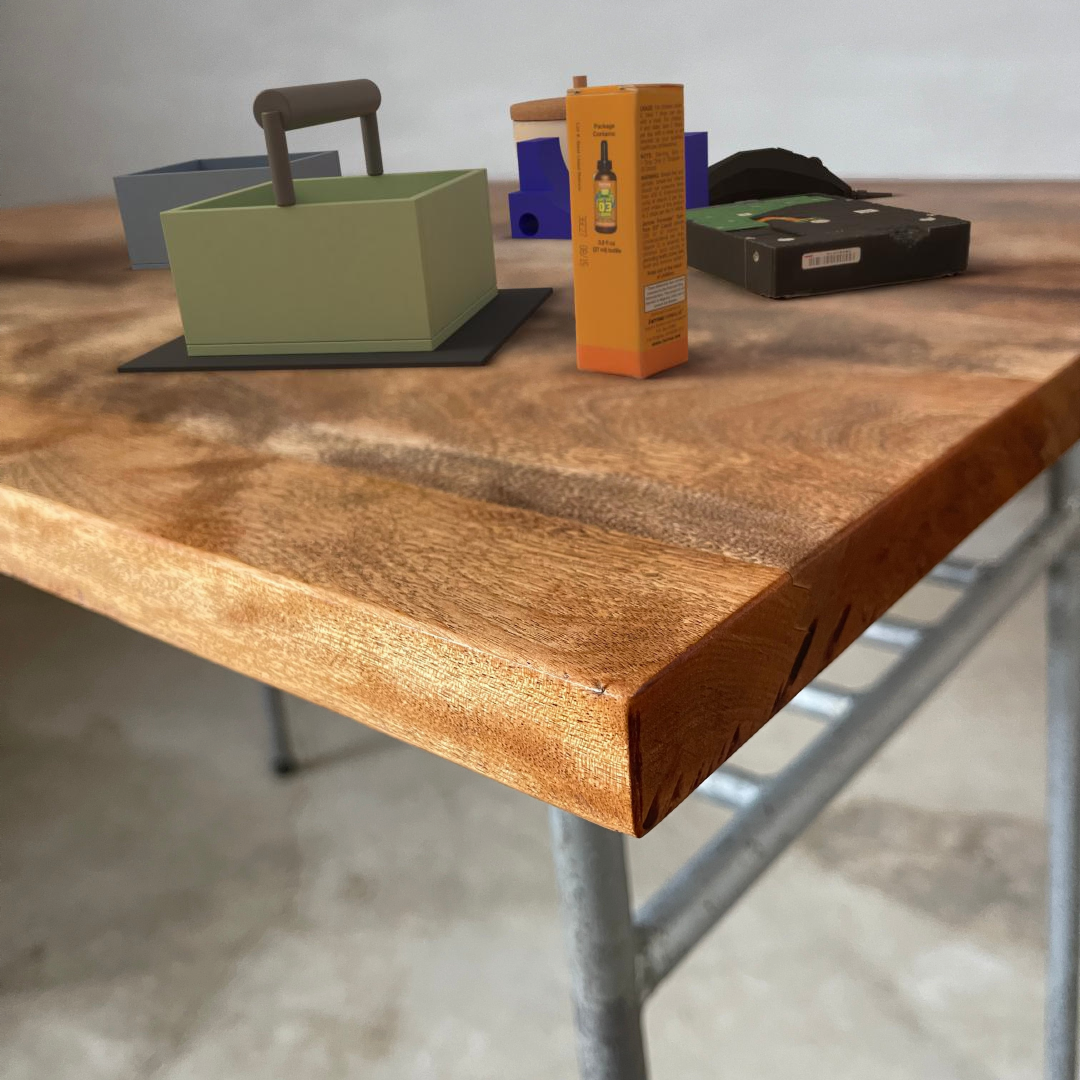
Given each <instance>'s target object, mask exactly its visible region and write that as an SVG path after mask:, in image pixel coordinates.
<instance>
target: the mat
mask: <svg viewBox="0 0 1080 1080" xmlns="http://www.w3.org/2000/svg"><path fill="white" fill-rule="evenodd" d="M497 290H498V295H497V296H496V297H494V298H493V299H492V300H491V301H490V302H489V303H488V304H486V305H485V306H484V307H483V308H482V309H481V310H480V311H478V312H477V313H476V314H475V315H474V316H473V317H471V318H470V319H469V320H468V321H467V322H466V323H465V324H463V325H462V326H461V327H460V328H459V329H458V330H457V331H455V332H454V333H453V334H452V335H451V336H450V337H449V338H447V339H446V340H445V341H444V342H443V343H442V344H440V345H439V346H438V347H437V348H436V349H435V350H434V351H429V352H381V353H332V354H284V355H236V356H189V355H188V350H187V344H186V340H185V335H184V334H182V335H180V336H178V337H176V338H174V339H172V340H170V341H168V342H166V343H164V344H162V345H160V346H158V347H155V348H153V349H152V350H149V351H147V352H145V353H143V354H142V355H139V356H137V357H135V358H134V359H131V360H130V361H127V362H125V363H123V364H122V365H119V366H117V367H116V370H117V373H118V374H127V373H128V374H129V373H133V374H134V373H184V372H185V373H186V372H187V373H189V372H191V373H192V372H239V371H241V372H242V371H243V372H245V371H246V372H247V371H296V370H298V371H299V370H300V371H304V370H350V369H351V370H354V369H355V370H357V369H362V370H363V369H414V368H415V369H416V368H467V367H468V368H469V367H471V368H472V367H474V368H475V367H476V368H477V367H478V368H479V367H483V366H484V365H485V364H486V363H488V361H489V360H490V359H491V358H492V357H494V355H495V354H496V353H497V352H498V351H499V350H500V349H501V348H502V347H503V345H505V343H506V342H507V341H508V340H509V339H510V338H511V337H512V336H513V335H514V334H515V333H516V332H517V331H518V330H519V329H520V328H521V327H522V326H523V324H524V323H526V321H527V320H528V319H529V318H530V317H531V316H532V315H533V314H534V313H535V312H536V311H537V310H538V308H540V306H542V304H544V302H545V301H546V300H547V299H548V298H549V297H550V296H551V295H552V294H553V293H554V288H553V287H522V288H520V287H519V288H518V287H517V288H497Z"/></svg>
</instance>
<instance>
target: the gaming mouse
mask: <svg viewBox="0 0 1080 1080" xmlns="http://www.w3.org/2000/svg"><path fill="white" fill-rule="evenodd" d="M708 193H709V207H710V206H717V205H724V204H732V203H735V202H739V201H747V200H761V199H767V198H774V197H784V196H792V195H793V196H794V195H801V194H808V193H821V194H827V195H830V196H833V195H837V196H840V197H845V198H850V199H854V200H866V199H879V198H881V199H882V198H891V197H893V192H877V191H876V192H875V191H872V192H871V191H868V190H867V189H857V190H855V189H852V186H851V185H850V184H849V183H848V184H847V182H845V181H844V180H842V179H841V178H840V177H839V176H837V175H836V174H835V173H833V172H832V171H831V170H829V168H828V167H827V166H825V165H824V163H823V160H822V159H820V157H818V156H814V155H813V156H809V157H808V156H806V155H803V154H801V153H796V152H794V151H793V150H789V149H786V148H782V147H779V146H777V148H776V147H765V148H757V149H748V150H740V151H737V152H735V153H732V154H731V155H729V156H727V157H725V158H723V159H721V160H719V161H717V162H714V163H713V164H711V165H708Z"/></svg>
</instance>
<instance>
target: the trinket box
mask: <svg viewBox="0 0 1080 1080" xmlns="http://www.w3.org/2000/svg"><path fill="white" fill-rule="evenodd" d="M572 85H573V88H584V87H588V75H585V74H584V75H574V76H572ZM573 88H572V89H573ZM509 114H510V115H509V116H510V120H511V121H512V132H513V141H514V148H515V154H516V155H517V144H516V142H520V141H526V140H531V139H536V138H545V137H559V140H560V147H561V152H562V156H563V159H564V162H565V164H566V167H567V169H568V171H569V157H568V137H567V119H566V96H559V97H551V98H541V99H535V100H528V101H523V102H518V103H514V104H511V105H510V106H509ZM516 158H517V160H518V157H517V156H516Z"/></svg>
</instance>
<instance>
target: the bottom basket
mask: <svg viewBox="0 0 1080 1080" xmlns="http://www.w3.org/2000/svg"><path fill="white" fill-rule="evenodd" d="M288 153H289V160H290V166H291V173H292V179H307V178H324V177H342V168H341V161H340V154H339V150H338V149H334V150H319V151H303V152H288ZM270 181H272V178H271V172H270V166H269V160H268V154H257V155H256V154H255V155H241V156H240V155H239V156H225V157H212V158H211V157H210V158H209V157H208V158H195V159H191V160H187V161H181V162H176V163H171V164H167V165H163V166H162V165H161V166H158V167H153V168H148V169H144V170H139V171H134V172H130V173H125V174H120V175H115V176H113V177H112V182H113V186H114V190H115V195H116V199H117V204H118V210H119V214H120V218H121V222H122V227H123V233H124V236H125V237H124V238H125V241H126V245H127V250H128V254H129V260H130V263H131V268H132V271H140V270H141V271H143V270H144V271H145V270H164V269H166V270H167V269H171V266H170V262H169V257H168V252H167V247H166V242H165V237H164V232H163V227H162V222H161V217H160V213H161V212H164V211H167V210H171V209H175V208H178V207H182V206H185V205H189V204H192V203H196V202H199V201H203V200H206V199H210V198H213V197H217V196H220V195H224V194H227V193H231V192H234V191H238V190H241V189H245V188H249V187H252V186H256V185H259V184H263V183H266V182H270Z"/></svg>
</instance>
